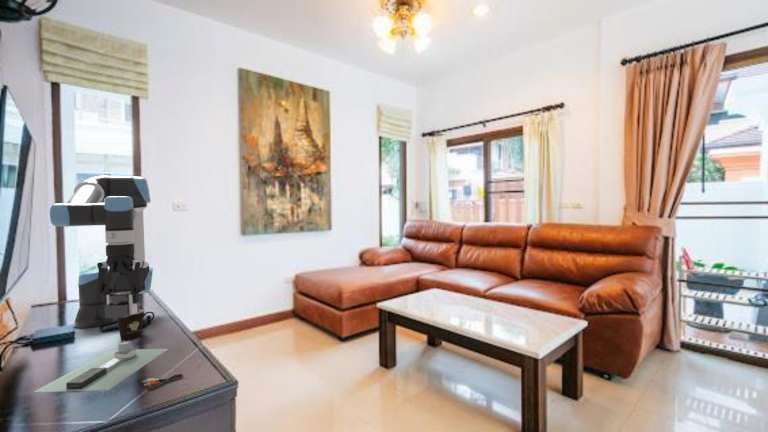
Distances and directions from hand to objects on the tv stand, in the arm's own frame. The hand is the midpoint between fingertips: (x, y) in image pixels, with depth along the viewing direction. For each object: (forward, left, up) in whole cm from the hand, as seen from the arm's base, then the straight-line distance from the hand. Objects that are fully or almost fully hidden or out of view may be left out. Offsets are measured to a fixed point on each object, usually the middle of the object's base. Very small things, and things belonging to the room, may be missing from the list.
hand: (122, 313), depth 116 cm
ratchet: (+8, 0, -15) cm, 17 cm away
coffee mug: (-20, -10, -15) cm, 27 cm away
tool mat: (+7, 0, -15) cm, 17 cm away
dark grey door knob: (0, 0, 0) cm, 0 cm away
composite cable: (+17, +23, -16) cm, 33 cm away
